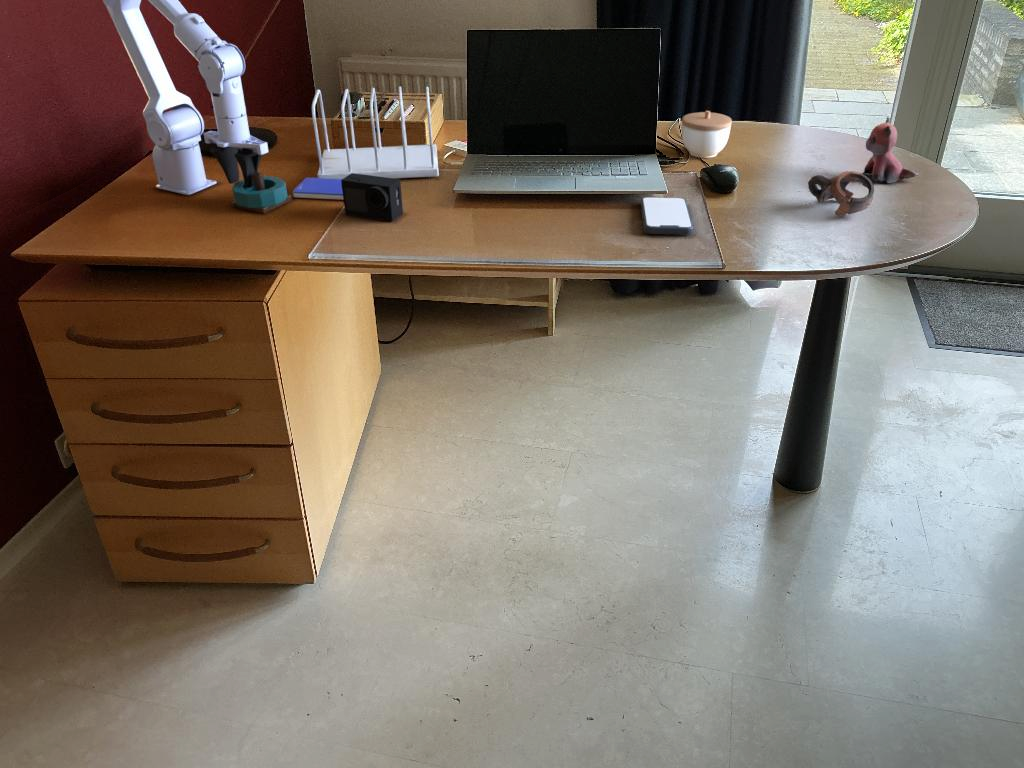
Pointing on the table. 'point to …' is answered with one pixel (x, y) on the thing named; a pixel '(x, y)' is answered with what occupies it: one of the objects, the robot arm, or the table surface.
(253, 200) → the ring
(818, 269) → the table surface
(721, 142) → the trinket box
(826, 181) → the brown curved piece
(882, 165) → the stuffed fox
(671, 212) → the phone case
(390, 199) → the digital camera
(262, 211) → the stand
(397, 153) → the file sorter
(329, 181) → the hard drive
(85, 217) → the table surface
